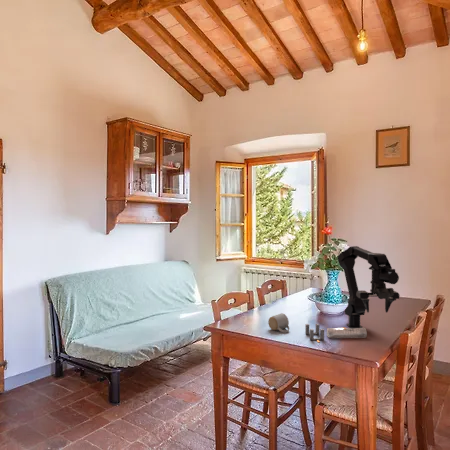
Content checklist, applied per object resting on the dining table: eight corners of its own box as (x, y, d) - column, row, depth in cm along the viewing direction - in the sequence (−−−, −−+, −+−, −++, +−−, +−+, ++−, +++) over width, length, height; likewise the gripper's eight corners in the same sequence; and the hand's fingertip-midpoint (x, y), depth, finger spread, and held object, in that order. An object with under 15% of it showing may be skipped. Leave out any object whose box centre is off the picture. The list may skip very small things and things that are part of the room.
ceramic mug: (267, 328, 191) (267, 314, 191) (278, 326, 196) (279, 311, 196) (281, 334, 183) (281, 319, 182) (293, 331, 187) (293, 316, 187)
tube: (329, 339, 176) (329, 329, 176) (326, 336, 181) (326, 326, 180) (366, 338, 177) (367, 329, 177) (363, 335, 181) (363, 326, 181)
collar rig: (304, 332, 185) (304, 322, 185) (317, 332, 186) (317, 322, 186) (311, 342, 171) (312, 331, 171) (325, 342, 171) (326, 331, 171)
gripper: (365, 283, 169) (364, 317, 170) (405, 283, 170) (404, 317, 170) (356, 278, 181) (355, 310, 181) (394, 278, 181) (393, 310, 182)
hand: (377, 312), depth 178 cm, fingers open, 9 cm apart
